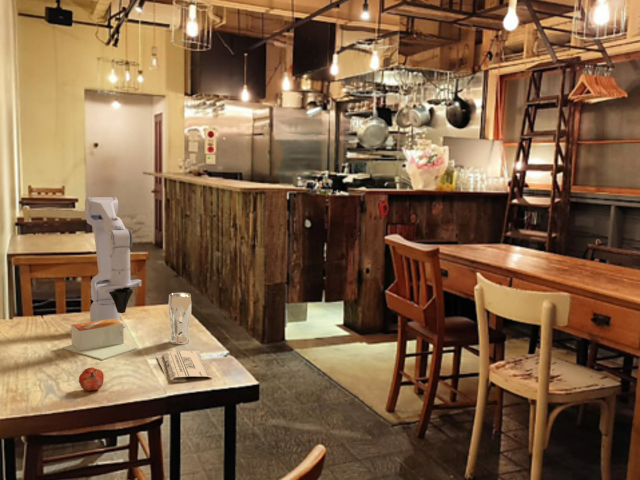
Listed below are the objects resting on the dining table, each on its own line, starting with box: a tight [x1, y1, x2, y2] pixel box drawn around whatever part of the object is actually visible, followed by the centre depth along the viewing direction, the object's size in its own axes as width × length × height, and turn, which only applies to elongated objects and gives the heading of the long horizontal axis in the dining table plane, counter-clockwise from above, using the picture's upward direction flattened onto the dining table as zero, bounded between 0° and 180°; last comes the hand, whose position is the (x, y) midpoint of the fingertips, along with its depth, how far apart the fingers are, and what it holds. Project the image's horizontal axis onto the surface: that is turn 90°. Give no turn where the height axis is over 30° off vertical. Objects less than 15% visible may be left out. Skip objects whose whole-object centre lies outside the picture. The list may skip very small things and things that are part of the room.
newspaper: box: [156, 350, 213, 383], centre depth 158 cm, size 23×12×2 cm, turn 20°
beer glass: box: [167, 292, 192, 346], centre depth 179 cm, size 7×7×15 cm
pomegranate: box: [78, 366, 105, 392], centre depth 141 cm, size 6×6×8 cm
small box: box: [70, 318, 125, 351], centre depth 174 cm, size 8×6×13 cm
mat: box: [62, 343, 137, 361], centre depth 171 cm, size 18×12×1 cm, turn 59°
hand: (121, 312), depth 177 cm, fingers closed
